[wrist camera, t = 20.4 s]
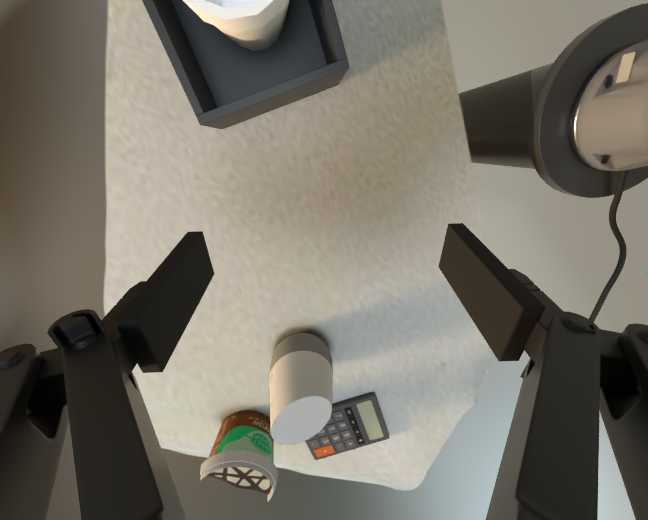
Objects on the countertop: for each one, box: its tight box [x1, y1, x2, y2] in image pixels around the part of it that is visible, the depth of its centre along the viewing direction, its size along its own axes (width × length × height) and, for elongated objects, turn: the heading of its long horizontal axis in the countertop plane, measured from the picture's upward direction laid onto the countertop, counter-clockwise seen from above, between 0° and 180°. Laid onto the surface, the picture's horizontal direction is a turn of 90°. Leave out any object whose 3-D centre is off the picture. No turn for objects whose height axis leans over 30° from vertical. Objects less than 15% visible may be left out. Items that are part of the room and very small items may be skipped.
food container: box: [200, 410, 278, 501], centre depth 47 cm, size 12×6×10 cm, turn 55°
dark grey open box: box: [142, 0, 349, 129], centre depth 27 cm, size 15×15×8 cm
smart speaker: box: [270, 333, 333, 445], centre depth 40 cm, size 10×9×14 cm
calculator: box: [305, 393, 389, 460], centre depth 53 cm, size 12×1×15 cm
